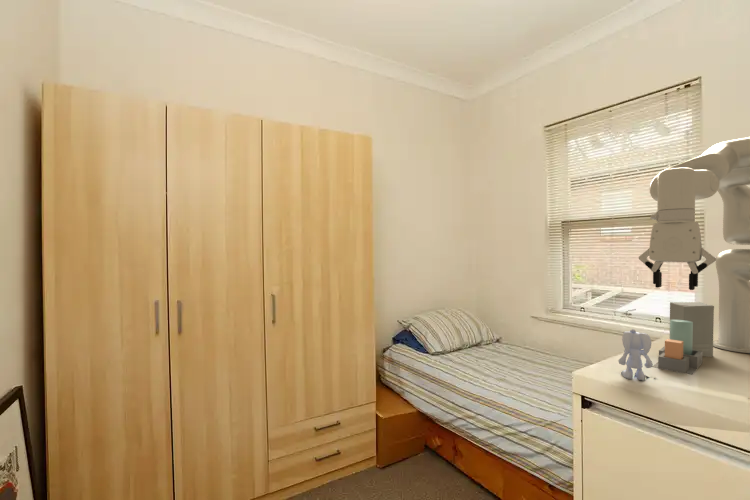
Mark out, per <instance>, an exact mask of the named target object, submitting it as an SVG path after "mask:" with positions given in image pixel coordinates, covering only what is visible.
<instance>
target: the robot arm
mask: <svg viewBox="0 0 750 500" xmlns="http://www.w3.org/2000/svg"><path fill="white" fill-rule="evenodd" d="M749 186H750V136H748V137H741V138H737V139H731V140H726V141H721V142H719V143H718V142H717V143H716V144H714V145H712V146H711V147H710V146H709V148H708V149H706V150H704V152H703V153H702V154H701V155H699V156H697V157H694V158H691V159H688V160H686V161H684V162H680V163H677V164H675V165H672V166H670V167H667V168H665V169H664V170H661V171H660V172H659V173H658V174H656V175H655V176H654V178H653V179H652V180H651V182H650V185H649V194H650V197H651V198H652V199H653V200H654V201H655V202H657V205H656V206H657V211H656V212H655V213H651V214H650V216H649V217H650V220H655V221H656V223H653V224H652V228H651V232H650V237H649V238H650V239H649V248H648V249H646V250H645V251H644V252H643V253H641V254H640V255H639V256H638V260H640V261H641V262H642V263H643V264H644V265H645V267H647V268H648V269H649V270H651V272H652V284H654V285H655V288H656V289H658V288H661V287H662V286H663V285H662V283H663V282H662V281H663V279H662V277H663V276H662V274H663V273H662V272H661V269H662V266H663V264H664V263H665V262H666V263H687V265H688V267H689V269H690V273H689V274H688V290H689V291H693V290H695V288H696V287H697V288H698V286H699V273H701V272H702V271H703V270H705V269H707V268H708V266H711V265H712V264H714V263H715V268H716V273H717V278H718V340H713V348H714V347H715V348H718V349H721V350H725V351H731V352H736V353H742V354H743V353H744V354H750V248H734V249H733V248H732V249H726V250H723V251H721V252H718V254H717V256H716V257H715V256H714V255H712V254H711V253H709V252H708V251H707V250H705V248H703V246H702V245H703V244H702V234H701V229H700V224H699V221H696V200H705V199H708V198H711V197H713V196H715V194H716V193H717V192H718V194H719V196H720V197H721V200H722V202H723V204H722V205H723V215H722V216H723V218H722V236H723V240H724V241H725V242H726V243H727V244H729V245H730V244H731V245H737V246H738V245H739V246H750V187H749ZM648 257H649V259H648ZM702 257H704V259H705V260H704V261H703V262H702V263H700V264H699V265H698V264H697V262H699V261H701V260H702ZM650 260H651V261H650ZM652 261H653V262H654V263H653V262H652Z"/></svg>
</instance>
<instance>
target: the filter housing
mask: <svg viewBox="0 0 750 500" xmlns="http://www.w3.org/2000/svg"><path fill="white" fill-rule="evenodd" d="M702 355H703V351H697V350H692V355H687V354H683V359H682V360H680V359H674V358H669V357H665V345H664V346H663V347H661V348H660V349H659V350H658V356H657V357H658V359H657V362H656V363H655V364H653V366H652V367H651V368H655V369H659V370H665V371H670V372H675V373H680V374H685V375H690V376H693V375H694V373H695V372H696V370H698V369H699V367H701V365H702V364H703V356H702Z"/></svg>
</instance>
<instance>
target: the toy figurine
mask: <svg viewBox="0 0 750 500" xmlns="http://www.w3.org/2000/svg"><path fill="white" fill-rule="evenodd" d="M621 340H622V345H623V348H624V350H623V355H622V356H621V357H620V358H619V359H618V360H617V361H618V363H619V365H621V366H625V365H626V368H625V369H623V370H621V372H620V375H621V376H622V377H623V378H625V379H628V380H632V379H633V378H634V377H635V378H636V380H638V381H642V382H643V381H644V382H645V380H646V374H645V373H644V371H643V369H642V368H643V361H642V360H643V359H642V358H641V356H643V357H644V358H645V363H644V367H645V368H646V369H651V368H653V367H652V366H654V364H653V361H652V359H651V358H650V357H649V355H648V353H649V352H650V350H651V348H652V339H651V337H650V335H649V334H648V333H646V332H638V331H636V330H635V329H633V328H632V329H630V330H629V331H623V332H622V338H621ZM633 369H635V371H636V372H635V373H633ZM633 375H634V376H633Z"/></svg>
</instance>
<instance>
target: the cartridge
mask: <svg viewBox="0 0 750 500" xmlns="http://www.w3.org/2000/svg"><path fill="white" fill-rule="evenodd" d="M669 339H671V340H678V341H683V354H687V355H692V343H693V322H691V321H685V320H670V319H669Z"/></svg>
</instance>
